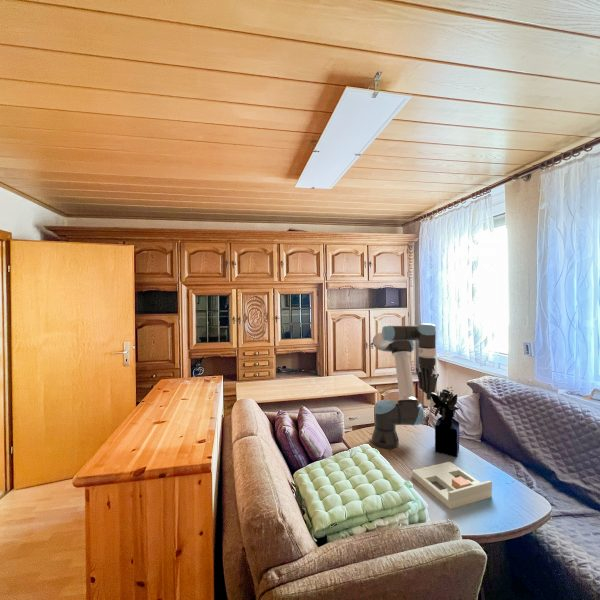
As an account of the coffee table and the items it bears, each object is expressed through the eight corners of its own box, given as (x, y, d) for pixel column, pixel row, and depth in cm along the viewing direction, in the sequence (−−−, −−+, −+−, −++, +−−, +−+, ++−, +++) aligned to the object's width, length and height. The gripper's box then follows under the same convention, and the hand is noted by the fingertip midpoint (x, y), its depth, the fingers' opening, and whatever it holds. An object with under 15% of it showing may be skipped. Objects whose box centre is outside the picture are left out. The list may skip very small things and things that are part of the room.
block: (451, 485, 134) (451, 478, 134) (460, 483, 135) (460, 476, 135) (461, 492, 129) (461, 485, 129) (470, 490, 131) (470, 483, 130)
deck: (412, 476, 145) (412, 462, 145) (449, 467, 152) (449, 454, 152) (450, 509, 124) (450, 493, 123) (491, 496, 131) (491, 481, 130)
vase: (428, 451, 168) (428, 387, 167) (432, 442, 177) (432, 381, 176) (458, 458, 160) (458, 391, 159) (460, 449, 170) (460, 385, 169)
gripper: (411, 354, 152) (411, 401, 153) (430, 359, 140) (430, 411, 140) (423, 353, 154) (424, 400, 155) (443, 358, 142) (443, 409, 143)
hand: (427, 405), depth 148 cm, fingers closed
